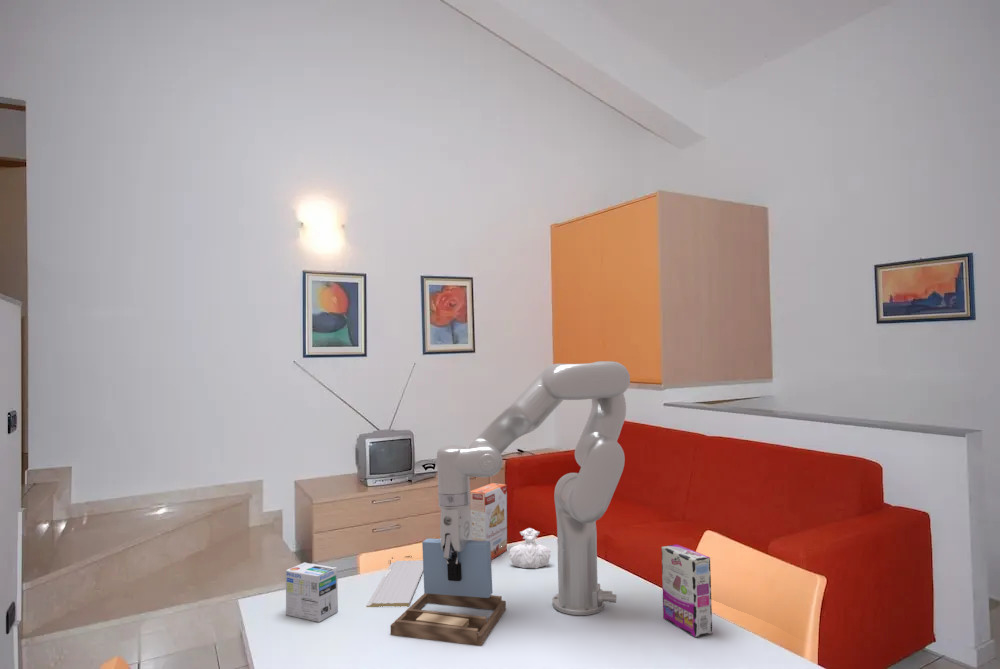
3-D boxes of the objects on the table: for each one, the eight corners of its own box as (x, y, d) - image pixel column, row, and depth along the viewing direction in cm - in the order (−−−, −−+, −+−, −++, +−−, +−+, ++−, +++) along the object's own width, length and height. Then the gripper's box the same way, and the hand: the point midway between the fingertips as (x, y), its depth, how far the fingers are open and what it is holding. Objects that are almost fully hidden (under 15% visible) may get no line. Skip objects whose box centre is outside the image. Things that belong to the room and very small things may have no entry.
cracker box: (486, 564, 176) (485, 492, 177) (469, 561, 179) (468, 490, 180) (508, 550, 188) (507, 483, 189) (491, 548, 191) (490, 482, 192)
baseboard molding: (360, 609, 147) (409, 609, 147) (360, 597, 147) (409, 597, 147) (386, 565, 178) (427, 565, 178) (386, 555, 178) (426, 555, 178)
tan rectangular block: (469, 634, 132) (469, 618, 132) (462, 642, 129) (462, 626, 129) (421, 626, 136) (421, 612, 137) (412, 634, 133) (412, 619, 133)
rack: (505, 609, 144) (505, 596, 144) (481, 645, 126) (481, 631, 126) (425, 600, 150) (425, 588, 150) (390, 634, 132) (390, 620, 132)
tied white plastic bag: (551, 572, 175) (549, 534, 182) (551, 563, 169) (549, 524, 176) (509, 572, 175) (510, 534, 183) (508, 563, 170) (509, 524, 177)
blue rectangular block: (492, 592, 141) (490, 541, 141) (488, 597, 138) (486, 545, 138) (429, 588, 145) (427, 538, 145) (424, 593, 142) (422, 542, 143)
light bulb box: (339, 612, 145) (338, 566, 145) (319, 623, 139) (319, 575, 139) (304, 605, 149) (304, 561, 150) (284, 615, 143) (284, 569, 143)
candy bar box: (714, 634, 130) (711, 557, 130) (695, 638, 128) (693, 560, 128) (679, 614, 140) (677, 542, 141) (662, 618, 138) (660, 545, 139)
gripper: (457, 508, 133) (460, 592, 133) (480, 491, 149) (483, 566, 148) (426, 507, 135) (429, 589, 135) (451, 490, 151) (454, 564, 150)
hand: (457, 576), depth 142 cm, fingers closed on blue rectangular block, 3 cm apart
